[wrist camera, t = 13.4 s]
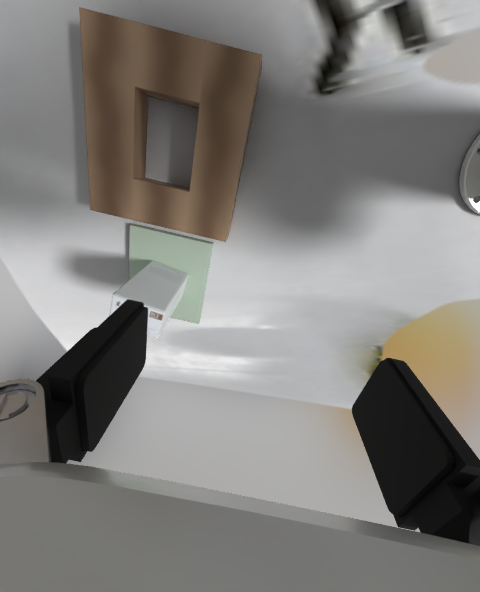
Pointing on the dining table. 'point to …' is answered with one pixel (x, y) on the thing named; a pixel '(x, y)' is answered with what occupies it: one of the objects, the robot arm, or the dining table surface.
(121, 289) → the skincare box
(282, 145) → the dining table surface
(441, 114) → the dining table surface
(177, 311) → the mat
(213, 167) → the pocket block
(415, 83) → the dining table surface
